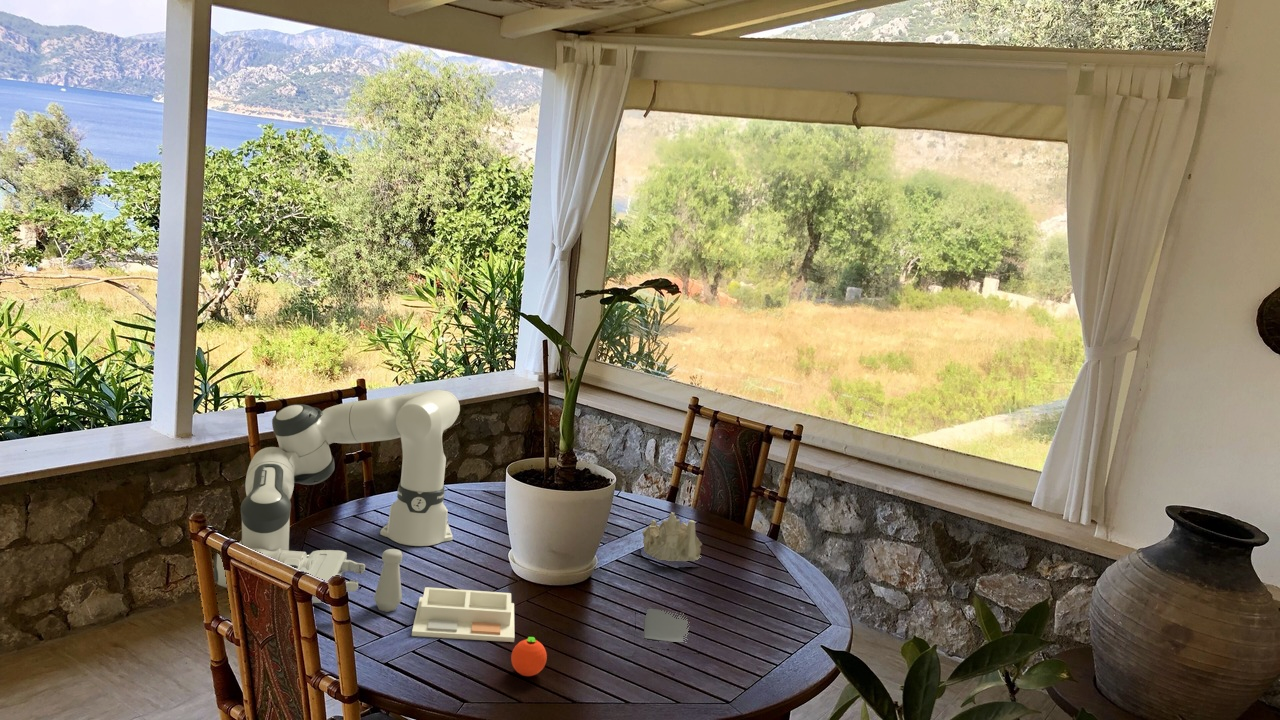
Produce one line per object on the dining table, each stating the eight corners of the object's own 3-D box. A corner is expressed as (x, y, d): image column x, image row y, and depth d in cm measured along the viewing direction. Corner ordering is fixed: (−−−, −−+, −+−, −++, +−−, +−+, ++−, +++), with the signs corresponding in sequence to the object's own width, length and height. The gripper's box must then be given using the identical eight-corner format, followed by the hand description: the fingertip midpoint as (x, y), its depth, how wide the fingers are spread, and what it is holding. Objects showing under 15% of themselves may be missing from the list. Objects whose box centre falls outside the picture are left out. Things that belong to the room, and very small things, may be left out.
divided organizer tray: (419, 601, 204) (421, 584, 204) (513, 607, 208) (515, 590, 207) (411, 635, 188) (413, 617, 187) (513, 642, 191) (516, 624, 190)
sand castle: (707, 569, 248) (711, 515, 246) (649, 569, 243) (653, 514, 242) (689, 551, 263) (693, 500, 261) (634, 551, 258) (638, 499, 257)
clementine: (510, 661, 183) (514, 628, 182) (545, 664, 184) (549, 631, 182) (508, 681, 175) (512, 646, 174) (544, 684, 176) (548, 649, 175)
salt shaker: (393, 615, 195) (398, 558, 194) (368, 610, 197) (374, 552, 195) (405, 605, 201) (411, 549, 199) (381, 599, 202) (386, 544, 200)
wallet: (701, 650, 196) (631, 639, 197) (700, 658, 197) (630, 647, 197) (699, 611, 216) (636, 602, 217) (698, 619, 217) (635, 609, 217)
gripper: (303, 567, 205) (367, 572, 207) (281, 606, 185) (352, 611, 187) (306, 540, 204) (369, 545, 206) (284, 577, 184) (354, 582, 186)
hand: (361, 577), depth 196 cm, fingers open, 8 cm apart
